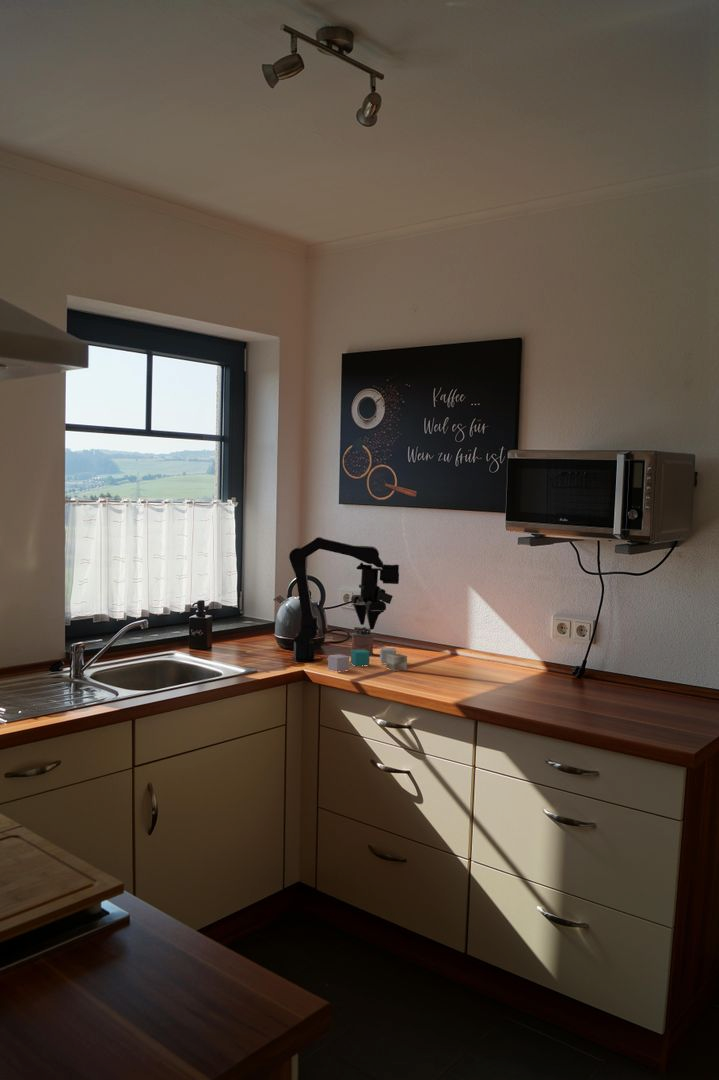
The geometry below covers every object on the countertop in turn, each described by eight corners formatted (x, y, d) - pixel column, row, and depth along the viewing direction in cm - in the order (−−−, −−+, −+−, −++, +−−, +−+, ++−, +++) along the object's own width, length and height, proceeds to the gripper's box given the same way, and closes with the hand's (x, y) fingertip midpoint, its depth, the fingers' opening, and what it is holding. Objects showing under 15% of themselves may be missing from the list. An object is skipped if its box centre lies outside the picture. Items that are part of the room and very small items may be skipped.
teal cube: (355, 667, 298) (355, 652, 298) (350, 664, 303) (351, 649, 303) (369, 666, 300) (369, 652, 300) (364, 663, 305) (364, 649, 304)
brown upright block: (373, 653, 322) (374, 626, 321) (372, 655, 319) (373, 628, 318) (351, 652, 323) (352, 625, 322) (350, 654, 320) (351, 627, 319)
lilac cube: (336, 673, 288) (337, 658, 288) (327, 670, 292) (328, 655, 292) (348, 671, 291) (349, 656, 291) (339, 668, 295) (340, 654, 295)
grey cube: (381, 664, 304) (381, 650, 304) (379, 661, 309) (380, 647, 309) (395, 664, 305) (396, 650, 304) (394, 661, 310) (394, 647, 309)
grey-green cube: (393, 672, 293) (394, 657, 293) (386, 669, 297) (386, 654, 297) (406, 670, 295) (407, 656, 295) (398, 667, 300) (399, 653, 299)
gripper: (401, 586, 299) (398, 631, 300) (380, 579, 316) (378, 622, 317) (370, 586, 295) (368, 632, 296) (351, 579, 312) (349, 622, 313)
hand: (366, 627), depth 306 cm, fingers open, 9 cm apart
